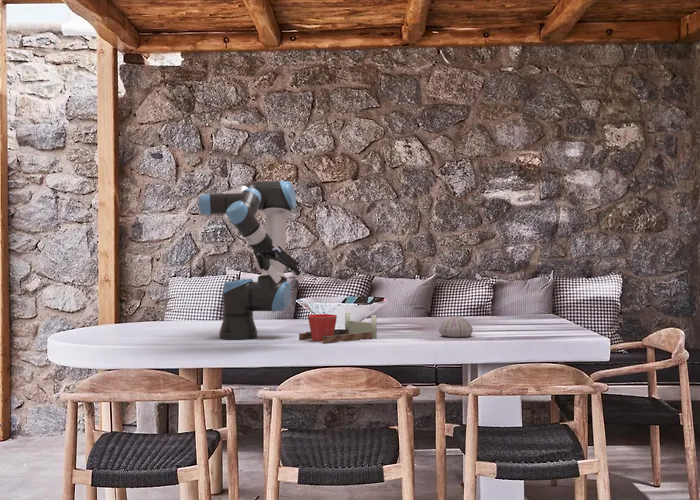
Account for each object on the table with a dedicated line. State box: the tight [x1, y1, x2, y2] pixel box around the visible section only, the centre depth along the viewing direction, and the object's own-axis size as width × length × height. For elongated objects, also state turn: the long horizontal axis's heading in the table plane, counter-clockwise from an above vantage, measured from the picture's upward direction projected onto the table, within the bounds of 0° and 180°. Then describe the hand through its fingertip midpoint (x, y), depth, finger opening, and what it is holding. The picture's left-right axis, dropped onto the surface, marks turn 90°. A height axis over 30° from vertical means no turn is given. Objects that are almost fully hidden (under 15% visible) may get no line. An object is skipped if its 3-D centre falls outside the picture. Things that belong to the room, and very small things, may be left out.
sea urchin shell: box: [438, 315, 474, 339], centre depth 312 cm, size 13×14×8 cm
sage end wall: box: [344, 312, 378, 339], centre depth 314 cm, size 2×18×9 cm, turn 39°
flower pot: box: [307, 313, 338, 342], centre depth 303 cm, size 11×11×10 cm
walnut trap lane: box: [298, 328, 372, 345], centre depth 308 cm, size 25×19×2 cm
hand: (290, 280), depth 293 cm, fingers open, 13 cm apart
